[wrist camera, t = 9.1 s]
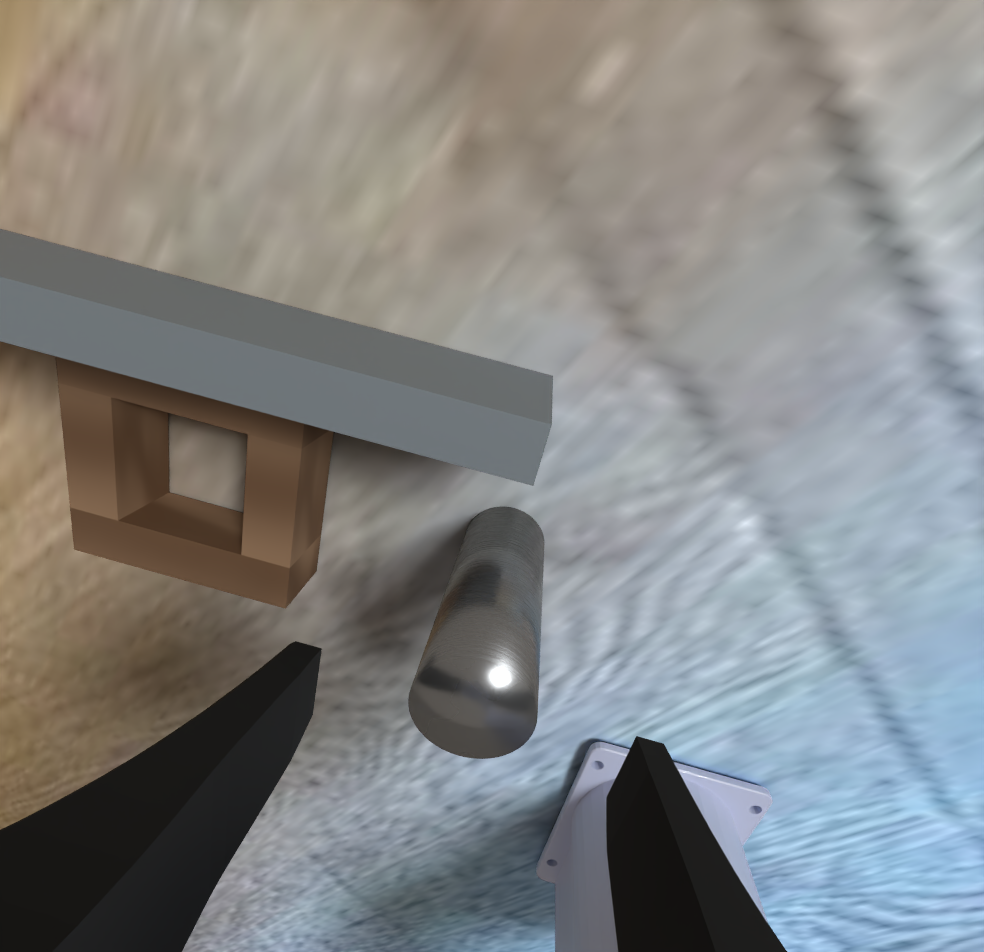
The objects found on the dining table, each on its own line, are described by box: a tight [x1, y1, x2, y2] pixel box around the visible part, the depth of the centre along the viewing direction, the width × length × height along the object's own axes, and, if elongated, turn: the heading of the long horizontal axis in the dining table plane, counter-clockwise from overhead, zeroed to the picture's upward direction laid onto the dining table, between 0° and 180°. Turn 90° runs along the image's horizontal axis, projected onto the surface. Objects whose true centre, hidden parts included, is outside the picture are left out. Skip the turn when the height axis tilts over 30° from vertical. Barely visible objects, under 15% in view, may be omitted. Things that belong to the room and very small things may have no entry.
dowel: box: [408, 507, 544, 759], centre depth 15 cm, size 3×3×8 cm
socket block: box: [56, 357, 334, 608], centre depth 18 cm, size 8×8×2 cm
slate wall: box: [0, 229, 553, 486], centre depth 14 cm, size 2×20×6 cm, turn 76°
